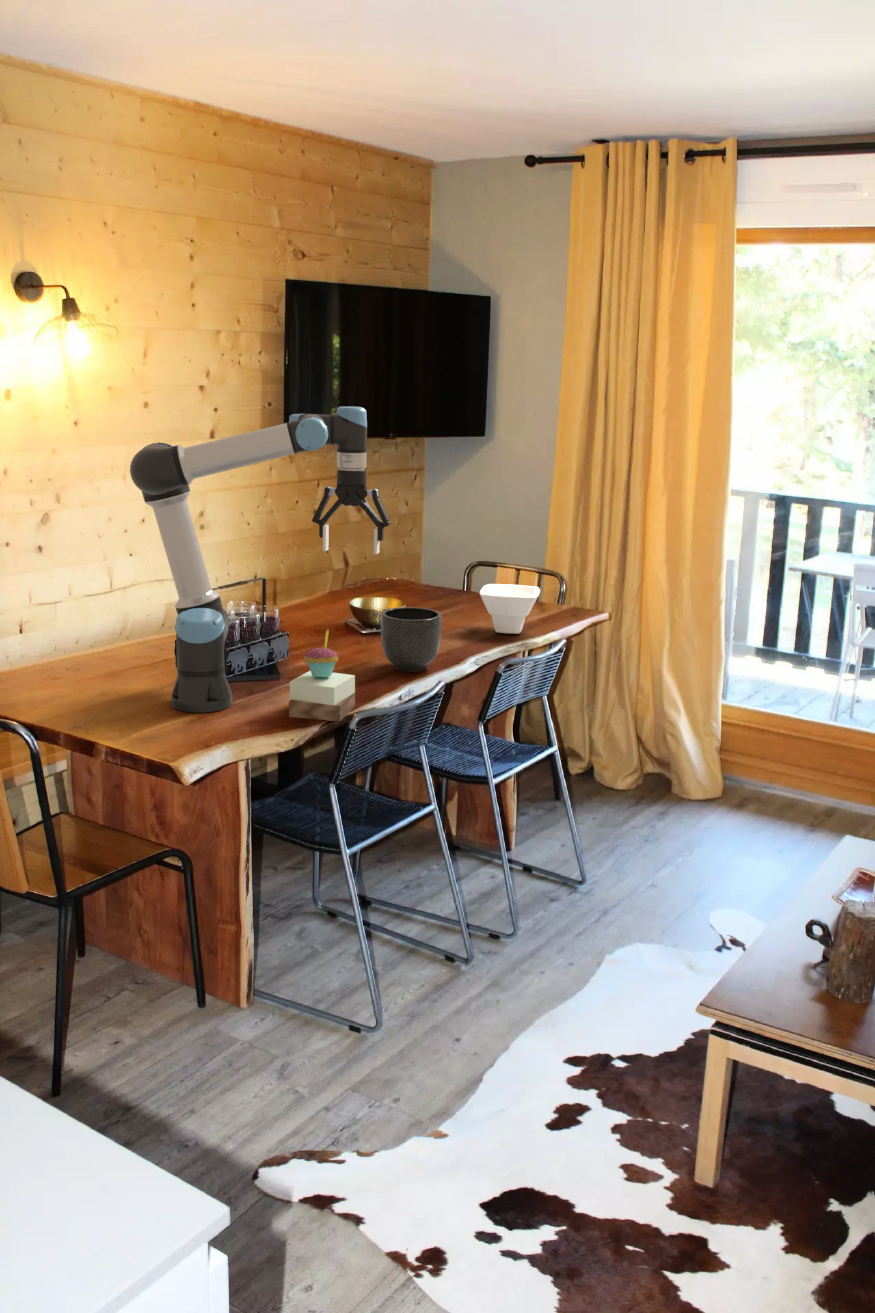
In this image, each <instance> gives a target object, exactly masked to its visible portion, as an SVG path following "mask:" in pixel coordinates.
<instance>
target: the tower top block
mask: <svg viewBox="0 0 875 1313" xmlns="http://www.w3.org/2000/svg"><path fill="white" fill-rule="evenodd" d="M353 693H355V694H356V675H354V674H347V673H342V672H341V673H339V672H334V671H333V672H332V675H331V676H328V677H313V676H312V673H311V670H308V671H307V672H305V673H303V674H301V675H300V676H297V677H296V678H294V679H292V680H290V681H289V700H298V701H305V702H312V703H320V704H327V705H336V704H337V703H339V702H341V701H342V700H344V699H345V698H347V697H349V696H350V695H352V694H353Z"/></svg>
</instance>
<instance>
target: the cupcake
mask: <svg viewBox="0 0 875 1313" xmlns="http://www.w3.org/2000/svg"><path fill="white" fill-rule="evenodd" d="M329 632H330V631H329V628H327V630H325V636H324V645H323V647H316V648H311V649H308V651H307V652H306V653H305V654H304V657H303V661H304V663H306V665H307V666H308V667H309V669H310V670H311V673H312V676H313V677H328V676H331V675H332V672H333V673H334V671H333V670H334V668H335V666H336V663H337V662H339V658H340V656H339V654H338V653H337V652H336V651H335V650H333V649H331V648H328V647H327V646H328V639H329ZM310 670H309V671H310Z"/></svg>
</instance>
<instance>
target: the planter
mask: <svg viewBox="0 0 875 1313" xmlns="http://www.w3.org/2000/svg"><path fill="white" fill-rule="evenodd" d="M442 622H443V616H442V613H441V612H440V611H438V610H436V609H431V608H427V607H419V606H416V607H415V606H402V607H392V608H388V609H385V610H382V612H381V613H380V637H381V647H382V650H383V654H384V656H385V658H386V659H387V660H388V661H389V662H390V664H392V665H393V668H394V669H395V670H396V669H397V670H396V671H400V672H403V673H418V672H423V671H425V670H426V669H427V668H428V666H429V665H430V664H432V662H433V661H434V660H435V658H436V657H437V655H438V653H439V649H440V645H441V639H442V629H443V628H442V627H443V626H442V624H443V623H442Z"/></svg>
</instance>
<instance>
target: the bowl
mask: <svg viewBox="0 0 875 1313" xmlns="http://www.w3.org/2000/svg"><path fill="white" fill-rule="evenodd" d="M540 593H541V589H540V588H539V586H533V585H526V584H525V585H522V584H509V583H507V584H505V583H503V584H502V583H488V584H485V585H483V586H482V588H481V589H480V591H479V595H480V598H481V600H482V602H483V604H484V606H485V609H486V610H487V613H488V614H489V615H491V619H492V623H493V624H492V625H493V628H494V631H495V633H499V634H500V633H501V634H512V635H513V634H521V632H522V631H523V627H524V624H525V621H526V617H527V616H529V614H530V612H531V610H532V609H533V607H534V605H535V603H536V601H537V600H538V597H539V596H540Z"/></svg>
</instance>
